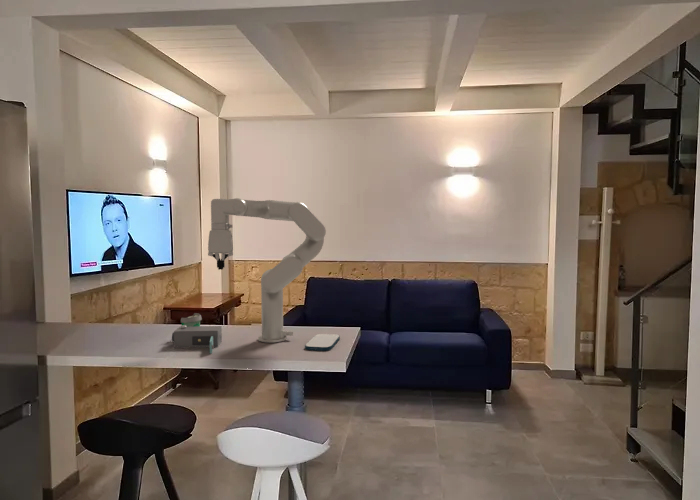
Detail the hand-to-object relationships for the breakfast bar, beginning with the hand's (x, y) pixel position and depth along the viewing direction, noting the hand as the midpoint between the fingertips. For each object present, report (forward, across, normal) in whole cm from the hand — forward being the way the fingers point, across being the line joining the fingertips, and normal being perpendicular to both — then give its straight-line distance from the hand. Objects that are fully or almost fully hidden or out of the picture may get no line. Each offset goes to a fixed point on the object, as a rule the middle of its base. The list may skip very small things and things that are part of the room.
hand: (220, 269), depth 219 cm
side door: (+32, +1, +15) cm, 36 cm away
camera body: (+32, +9, +5) cm, 34 cm away
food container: (+32, +14, -9) cm, 36 cm away
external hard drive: (+33, -44, +7) cm, 56 cm away
